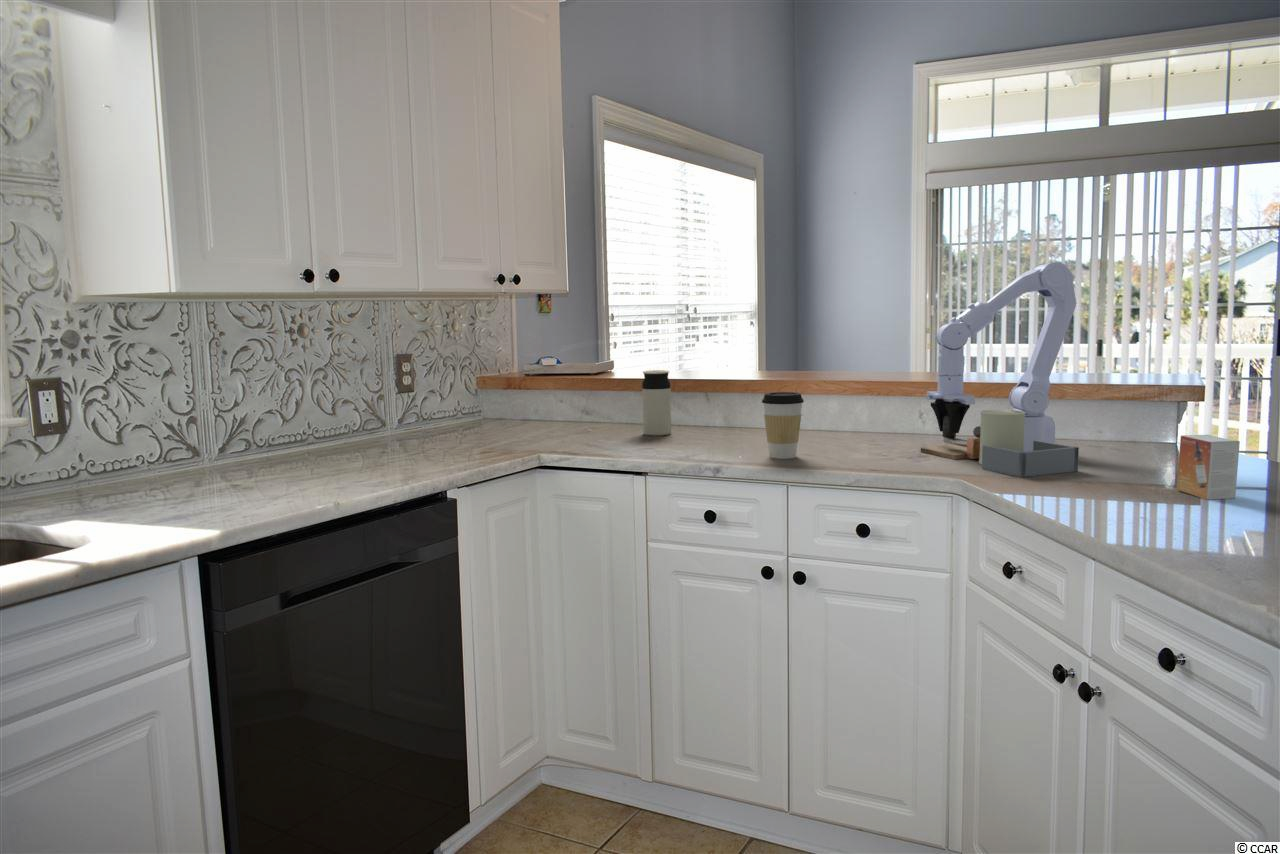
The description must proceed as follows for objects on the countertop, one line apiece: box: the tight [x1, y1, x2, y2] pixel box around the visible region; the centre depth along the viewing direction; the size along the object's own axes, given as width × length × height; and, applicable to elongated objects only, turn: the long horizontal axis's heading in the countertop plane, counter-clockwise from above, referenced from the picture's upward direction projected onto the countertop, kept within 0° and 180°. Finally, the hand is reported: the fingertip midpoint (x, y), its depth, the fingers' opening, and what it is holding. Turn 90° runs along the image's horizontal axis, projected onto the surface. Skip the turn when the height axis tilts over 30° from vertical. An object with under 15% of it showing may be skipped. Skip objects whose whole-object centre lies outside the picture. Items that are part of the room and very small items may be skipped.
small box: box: [1176, 434, 1240, 501], centre depth 161 cm, size 8×6×10 cm
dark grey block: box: [942, 414, 981, 460], centre depth 207 cm, size 5×13×9 cm, turn 21°
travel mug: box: [641, 369, 672, 437], centre depth 254 cm, size 8×8×18 cm
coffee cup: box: [761, 391, 805, 460], centre depth 212 cm, size 10×10×15 cm
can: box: [978, 409, 1025, 466], centre depth 196 cm, size 9×9×12 cm
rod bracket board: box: [920, 444, 968, 460], centre depth 211 cm, size 10×12×1 cm
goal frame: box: [981, 440, 1080, 478], centre depth 189 cm, size 15×11×5 cm
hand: (949, 432), depth 212 cm, fingers closed on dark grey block, 3 cm apart
